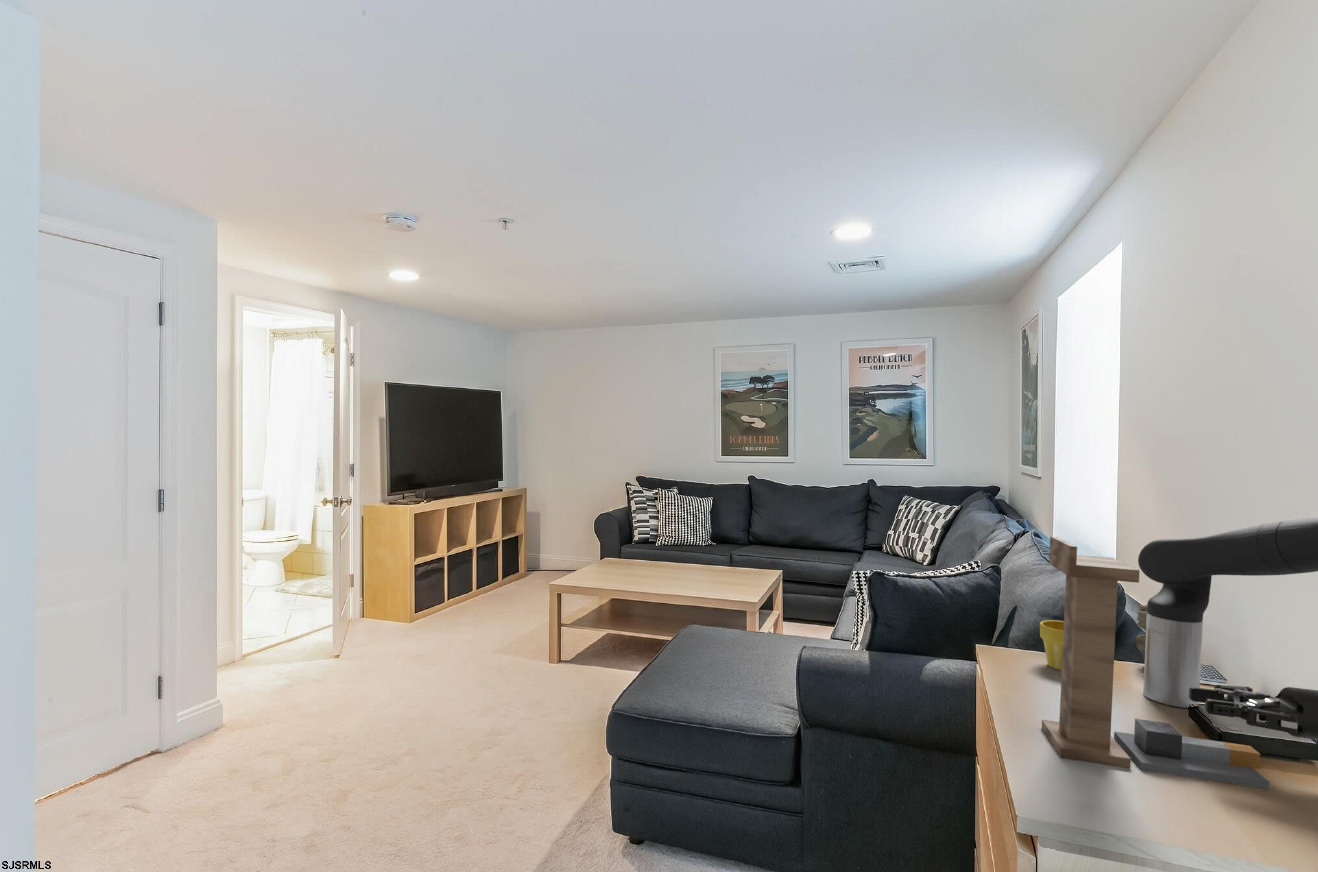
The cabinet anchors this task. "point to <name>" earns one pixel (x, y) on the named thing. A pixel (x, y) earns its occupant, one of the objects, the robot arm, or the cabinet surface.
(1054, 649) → the plant pot
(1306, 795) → the cabinet surface
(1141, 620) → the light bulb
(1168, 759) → the rubber mat
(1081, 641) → the walnut stand
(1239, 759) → the grey block hammer
